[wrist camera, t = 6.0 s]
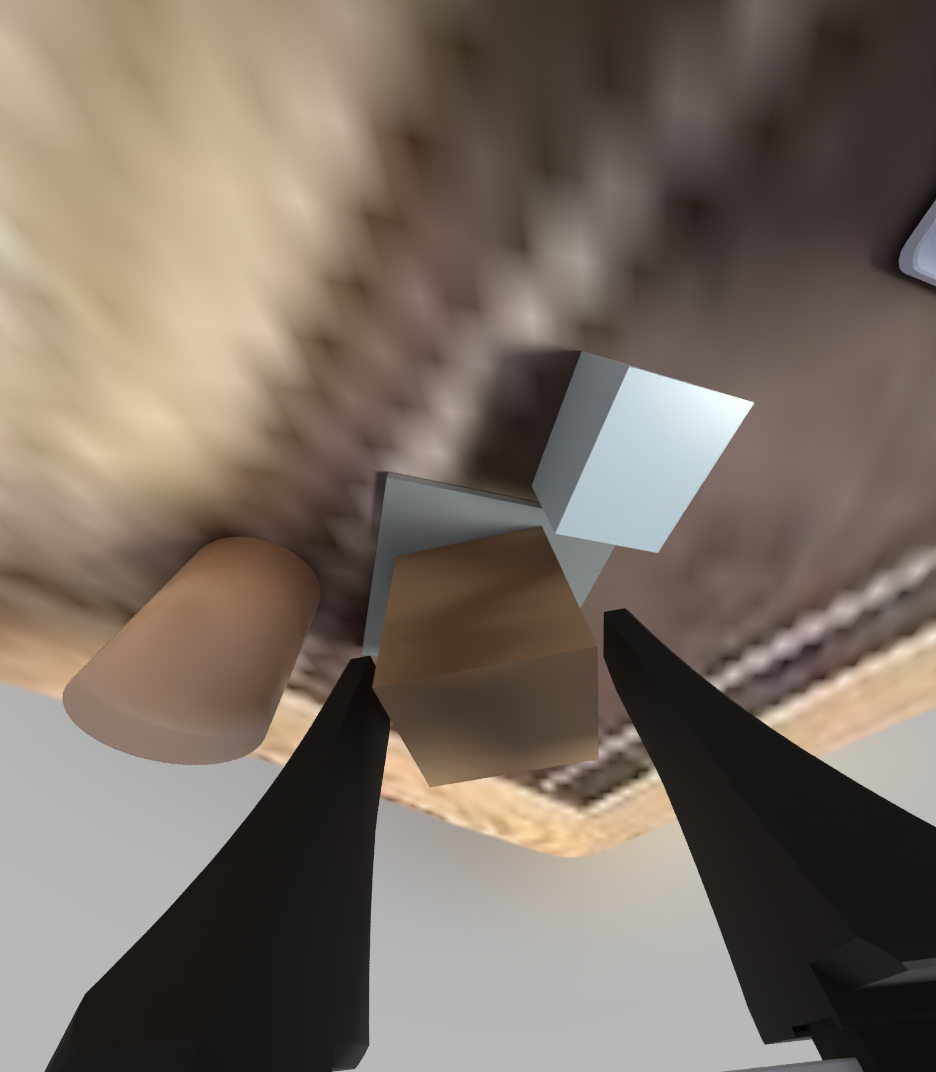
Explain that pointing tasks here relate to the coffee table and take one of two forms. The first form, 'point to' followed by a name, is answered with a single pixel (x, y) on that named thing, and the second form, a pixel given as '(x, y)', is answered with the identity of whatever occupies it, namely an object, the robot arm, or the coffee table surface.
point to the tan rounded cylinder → (201, 657)
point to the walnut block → (488, 660)
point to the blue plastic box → (630, 452)
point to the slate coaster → (462, 536)
